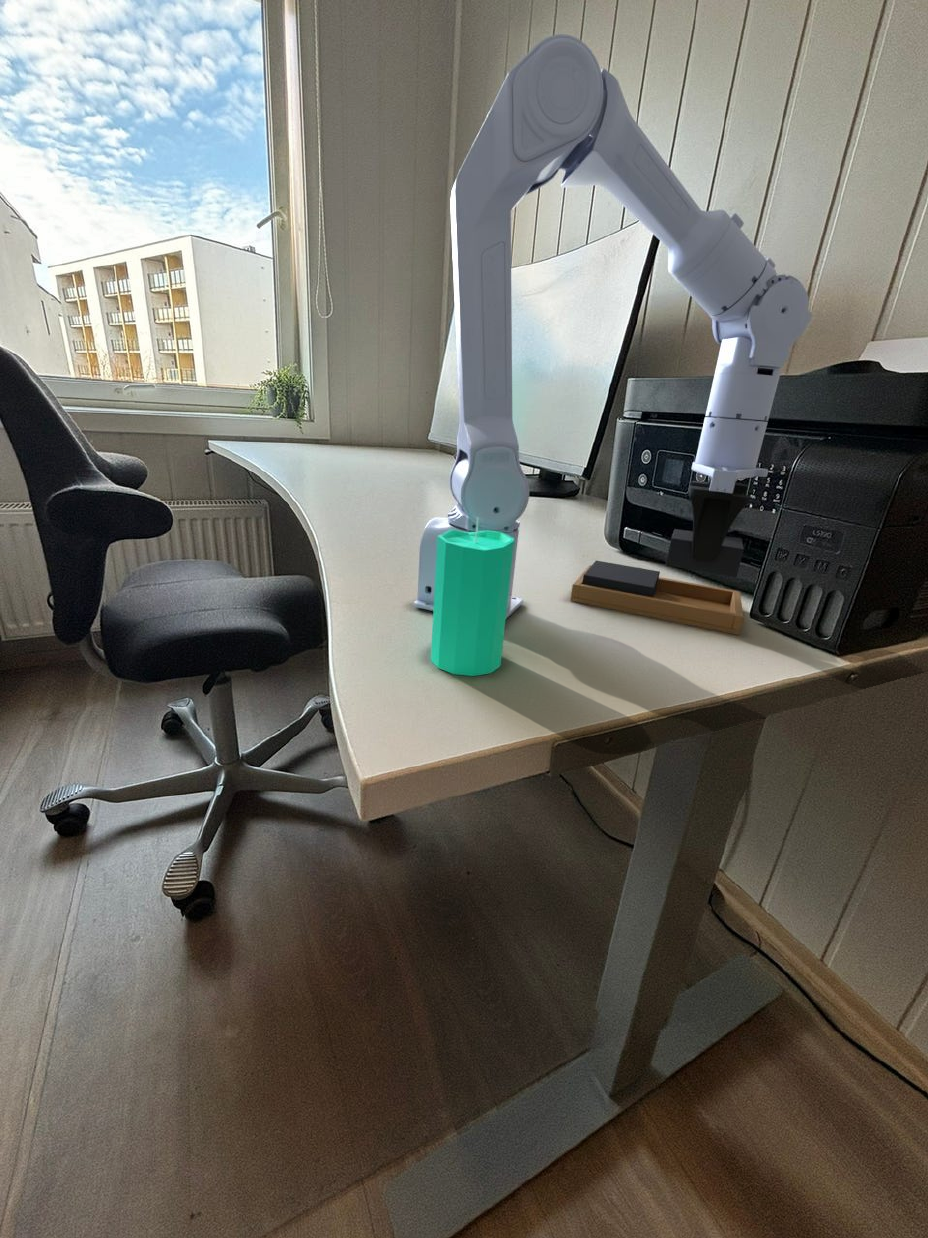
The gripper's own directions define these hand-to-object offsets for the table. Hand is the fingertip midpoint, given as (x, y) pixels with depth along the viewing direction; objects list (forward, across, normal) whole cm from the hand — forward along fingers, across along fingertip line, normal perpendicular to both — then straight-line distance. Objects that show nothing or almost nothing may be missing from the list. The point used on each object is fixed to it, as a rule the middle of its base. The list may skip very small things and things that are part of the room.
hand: (703, 552), depth 59 cm
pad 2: (+1, 0, 0) cm, 1 cm away
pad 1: (+7, 0, +8) cm, 10 cm away
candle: (+7, -25, +17) cm, 31 cm away
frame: (+7, 0, +4) cm, 8 cm away
